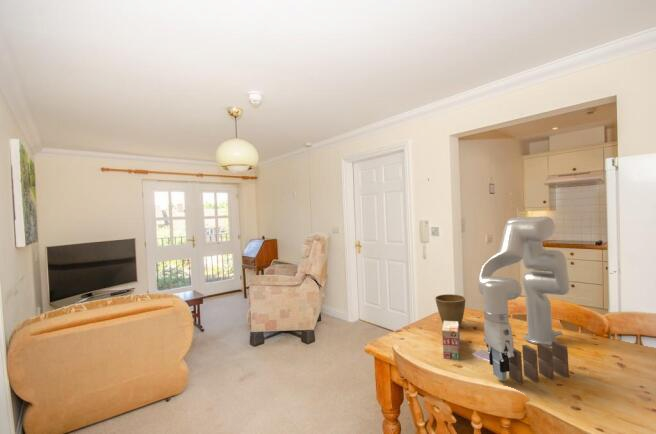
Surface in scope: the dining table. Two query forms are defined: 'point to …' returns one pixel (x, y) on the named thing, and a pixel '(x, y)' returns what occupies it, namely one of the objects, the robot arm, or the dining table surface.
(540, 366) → the domino
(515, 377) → the domino
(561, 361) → the domino
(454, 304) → the plant pot
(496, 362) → the domino
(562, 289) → the robot arm
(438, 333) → the dining table surface
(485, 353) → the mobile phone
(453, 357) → the colourful printed box
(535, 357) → the domino
